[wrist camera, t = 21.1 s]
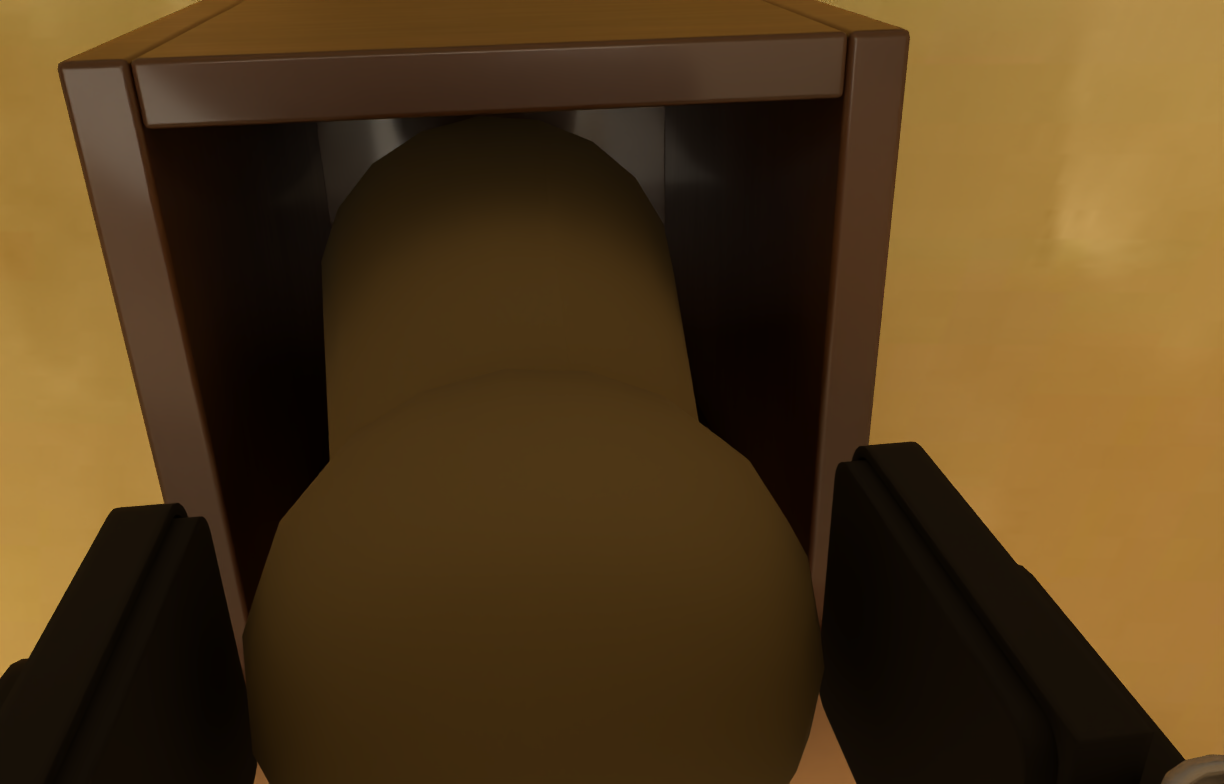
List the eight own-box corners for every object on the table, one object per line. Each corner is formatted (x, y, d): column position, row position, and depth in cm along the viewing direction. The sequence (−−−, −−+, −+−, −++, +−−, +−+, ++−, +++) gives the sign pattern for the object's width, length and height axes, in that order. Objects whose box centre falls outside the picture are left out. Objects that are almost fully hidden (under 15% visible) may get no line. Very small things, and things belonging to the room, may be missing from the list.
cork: (562, 496, 20) (664, 1096, 10) (259, 358, 18) (20, 943, 8) (741, 229, 18) (1080, 651, 8) (425, 41, 16) (375, 302, 6)
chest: (264, -29, 24) (51, 62, 12) (691, -42, 25) (914, 28, 13) (325, 366, 28) (219, 736, 16) (687, 341, 29) (847, 669, 17)
